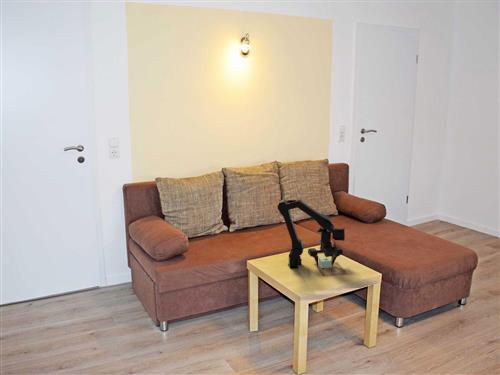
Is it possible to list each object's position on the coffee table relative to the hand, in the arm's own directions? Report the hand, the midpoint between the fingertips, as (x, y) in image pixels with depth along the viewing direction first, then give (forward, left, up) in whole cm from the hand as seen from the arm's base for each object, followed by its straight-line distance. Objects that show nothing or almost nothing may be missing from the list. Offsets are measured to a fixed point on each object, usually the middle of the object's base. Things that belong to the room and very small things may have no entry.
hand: (324, 266), depth 251 cm
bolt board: (+2, -4, -2) cm, 5 cm away
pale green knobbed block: (0, 0, 0) cm, 0 cm away
